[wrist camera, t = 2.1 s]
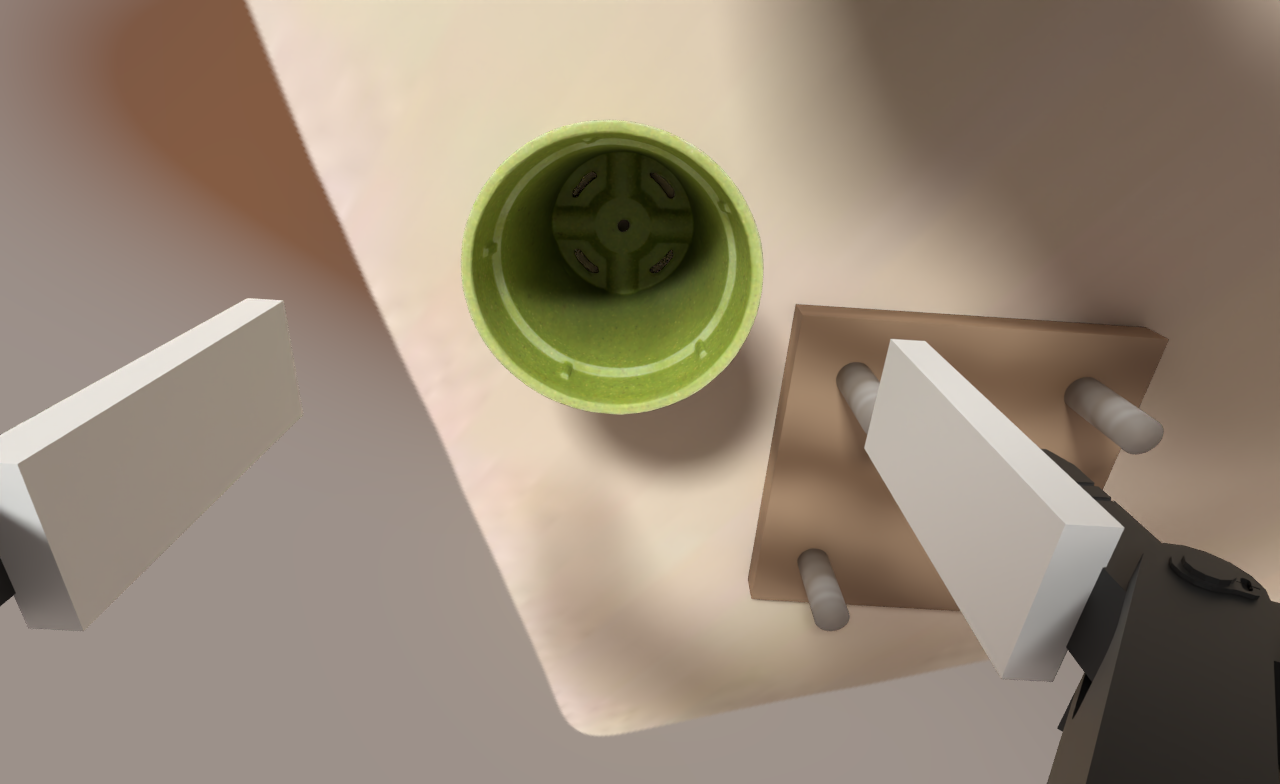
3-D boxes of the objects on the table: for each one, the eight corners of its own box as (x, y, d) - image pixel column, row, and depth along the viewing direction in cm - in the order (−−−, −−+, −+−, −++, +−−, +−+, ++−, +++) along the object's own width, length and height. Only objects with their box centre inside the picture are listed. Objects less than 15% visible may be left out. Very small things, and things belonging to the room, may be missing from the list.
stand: (795, 304, 30) (824, 350, 25) (1145, 327, 30) (1243, 377, 25) (747, 579, 37) (763, 658, 32) (1032, 596, 37) (1091, 677, 32)
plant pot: (628, 366, 31) (621, 464, 23) (468, 228, 29) (400, 287, 21) (777, 221, 28) (826, 277, 20) (614, 51, 26) (599, 41, 18)
